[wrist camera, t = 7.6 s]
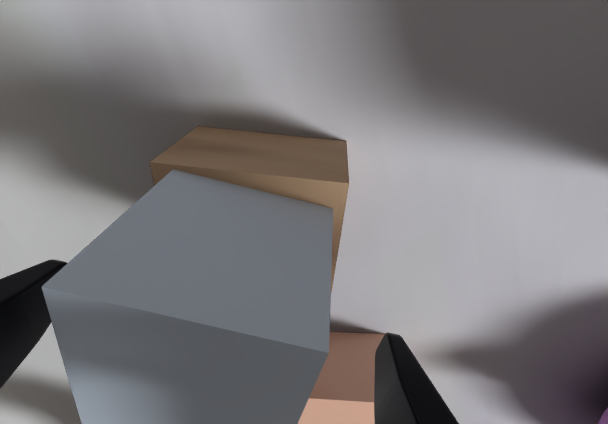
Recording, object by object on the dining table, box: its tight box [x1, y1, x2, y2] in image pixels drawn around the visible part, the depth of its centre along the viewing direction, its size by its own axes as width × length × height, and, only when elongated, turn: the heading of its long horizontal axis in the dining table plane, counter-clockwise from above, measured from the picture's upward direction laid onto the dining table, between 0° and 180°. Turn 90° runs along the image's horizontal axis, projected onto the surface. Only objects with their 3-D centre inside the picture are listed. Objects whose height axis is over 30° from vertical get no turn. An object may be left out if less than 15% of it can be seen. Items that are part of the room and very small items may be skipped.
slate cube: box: [42, 169, 333, 424], centre depth 9 cm, size 5×5×5 cm
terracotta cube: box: [298, 332, 385, 424], centre depth 18 cm, size 5×5×4 cm
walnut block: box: [150, 126, 349, 291], centre depth 13 cm, size 6×6×4 cm
